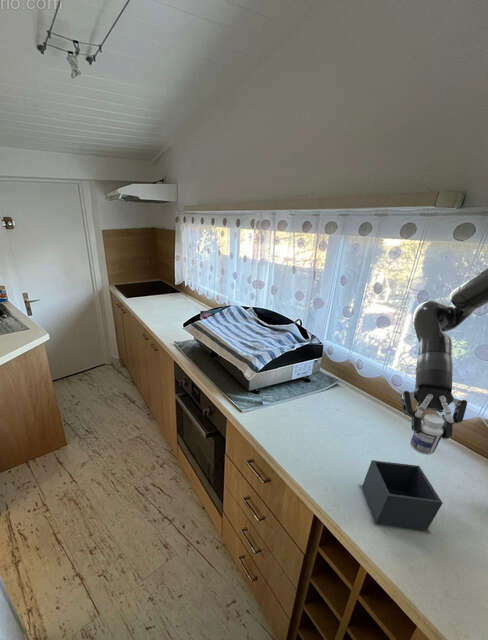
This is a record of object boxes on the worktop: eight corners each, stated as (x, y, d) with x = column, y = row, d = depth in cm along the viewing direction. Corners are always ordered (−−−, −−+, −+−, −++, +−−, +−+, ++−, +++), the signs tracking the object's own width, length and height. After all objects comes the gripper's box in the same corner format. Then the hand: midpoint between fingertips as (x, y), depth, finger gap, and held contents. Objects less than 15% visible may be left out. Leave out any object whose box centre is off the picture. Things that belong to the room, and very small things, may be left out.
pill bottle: (421, 439, 84) (434, 410, 79) (439, 453, 79) (454, 423, 74) (404, 442, 83) (416, 413, 78) (420, 456, 78) (434, 426, 73)
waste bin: (406, 492, 82) (419, 465, 78) (426, 531, 73) (442, 503, 68) (361, 486, 84) (371, 460, 80) (375, 523, 75) (388, 495, 70)
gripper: (407, 363, 80) (403, 427, 75) (475, 372, 75) (475, 441, 71) (397, 372, 87) (393, 431, 82) (459, 380, 82) (457, 443, 78)
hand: (431, 435), depth 77 cm, fingers closed on pill bottle, 5 cm apart
